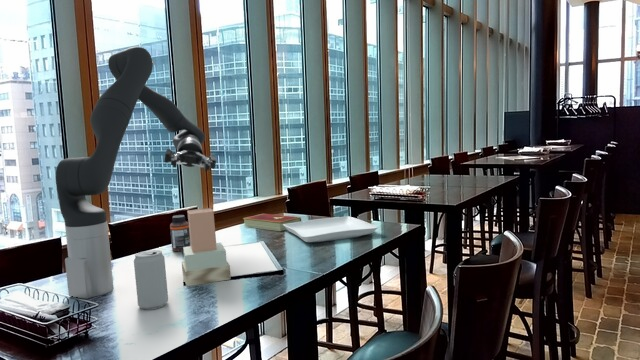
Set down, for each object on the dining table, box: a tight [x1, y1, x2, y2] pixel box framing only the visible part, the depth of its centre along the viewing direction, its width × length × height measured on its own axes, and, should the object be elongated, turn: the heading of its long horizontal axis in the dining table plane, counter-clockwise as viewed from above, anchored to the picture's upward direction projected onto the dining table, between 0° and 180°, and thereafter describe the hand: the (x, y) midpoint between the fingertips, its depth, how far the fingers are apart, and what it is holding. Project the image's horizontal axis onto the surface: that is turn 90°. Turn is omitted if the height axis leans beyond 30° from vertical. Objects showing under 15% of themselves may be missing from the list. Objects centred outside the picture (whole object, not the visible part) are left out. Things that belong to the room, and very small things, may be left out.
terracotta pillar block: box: [186, 207, 217, 253], centre depth 125 cm, size 6×6×10 cm
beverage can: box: [133, 249, 169, 310], centre depth 106 cm, size 6×6×12 cm
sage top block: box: [183, 242, 228, 271], centre depth 126 cm, size 10×10×4 cm
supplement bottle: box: [169, 214, 191, 252], centre depth 159 cm, size 6×6×11 cm
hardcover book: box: [242, 213, 302, 232], centre depth 192 cm, size 12×21×4 cm, turn 50°
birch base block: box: [181, 260, 232, 287], centre depth 126 cm, size 11×11×4 cm
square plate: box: [283, 215, 379, 243], centre depth 172 cm, size 27×27×4 cm
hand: (191, 165), depth 133 cm, fingers open, 8 cm apart
